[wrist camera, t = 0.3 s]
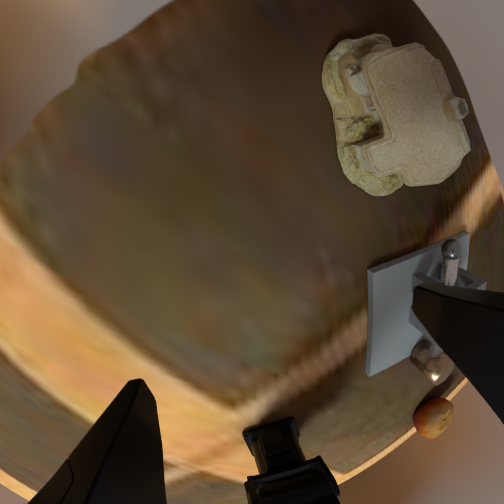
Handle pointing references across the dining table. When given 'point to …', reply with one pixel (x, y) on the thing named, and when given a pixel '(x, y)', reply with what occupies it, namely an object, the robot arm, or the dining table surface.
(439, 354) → the metal knob rod
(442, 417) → the fruit
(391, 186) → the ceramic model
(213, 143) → the dining table surface
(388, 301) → the barrel bolt latch
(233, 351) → the dining table surface
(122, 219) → the dining table surface
